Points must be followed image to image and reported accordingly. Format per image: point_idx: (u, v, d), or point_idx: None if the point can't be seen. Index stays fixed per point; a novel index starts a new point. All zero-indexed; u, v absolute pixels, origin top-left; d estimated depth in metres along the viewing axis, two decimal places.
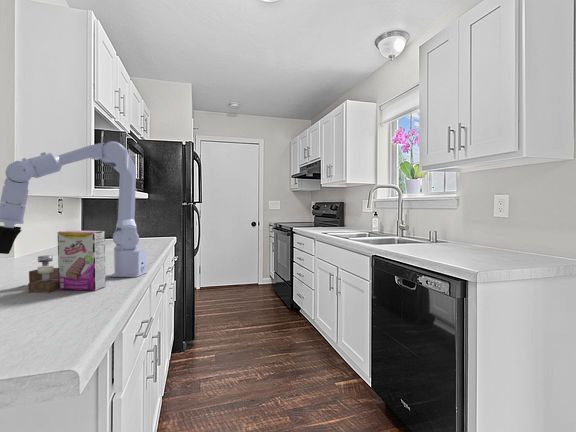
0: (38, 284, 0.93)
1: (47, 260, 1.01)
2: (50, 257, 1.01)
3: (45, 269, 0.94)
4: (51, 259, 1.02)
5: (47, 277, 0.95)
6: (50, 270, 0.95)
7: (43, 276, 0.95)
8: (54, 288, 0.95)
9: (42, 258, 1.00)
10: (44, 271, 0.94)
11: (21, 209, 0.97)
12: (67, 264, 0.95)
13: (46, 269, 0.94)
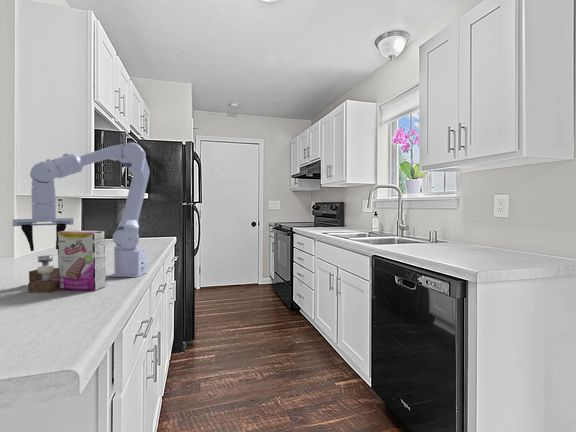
0: (38, 284, 0.93)
1: (47, 260, 1.01)
2: (50, 257, 1.01)
3: (45, 269, 0.94)
4: (51, 259, 1.02)
5: (47, 277, 0.95)
6: (50, 270, 0.95)
7: (43, 276, 0.95)
8: (54, 288, 0.95)
9: (42, 258, 1.00)
10: (44, 271, 0.94)
11: None
12: (67, 264, 0.95)
13: (46, 269, 0.94)
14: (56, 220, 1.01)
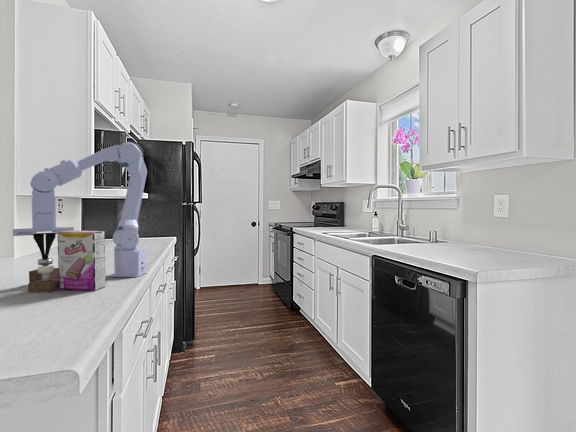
0: (38, 284, 0.93)
1: (47, 263, 1.01)
2: (50, 260, 1.01)
3: (45, 269, 0.94)
4: (51, 262, 1.02)
5: (47, 277, 0.95)
6: (50, 270, 0.95)
7: (43, 276, 0.95)
8: (54, 288, 0.95)
9: (42, 261, 1.00)
10: (44, 271, 0.94)
11: None
12: (67, 264, 0.95)
13: (46, 269, 0.94)
14: (56, 229, 1.01)
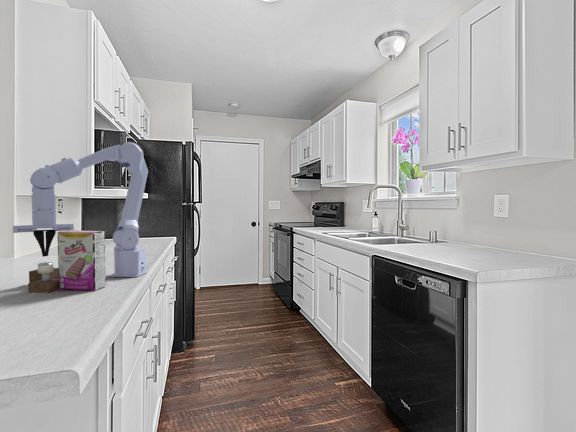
0: (38, 284, 0.93)
1: None
2: (50, 264, 1.02)
3: (45, 269, 0.94)
4: None
5: (47, 277, 0.95)
6: (50, 270, 0.95)
7: (43, 276, 0.95)
8: (54, 288, 0.95)
9: (42, 265, 1.00)
10: (44, 271, 0.94)
11: None
12: (67, 264, 0.95)
13: (46, 269, 0.94)
14: (56, 226, 1.01)
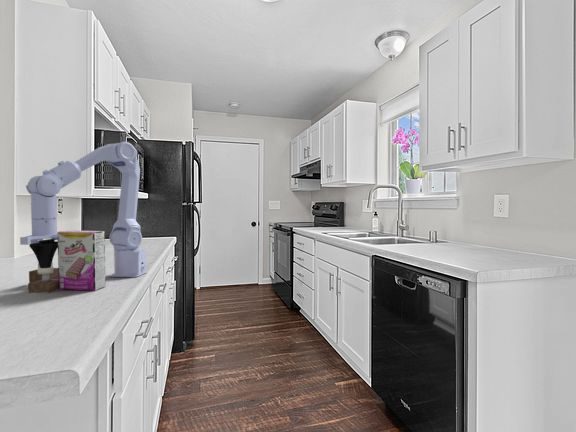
0: (38, 284, 0.93)
1: None
2: None
3: (45, 270, 0.94)
4: (51, 266, 1.02)
5: (47, 278, 0.95)
6: (50, 271, 0.95)
7: (43, 277, 0.95)
8: (54, 288, 0.95)
9: None
10: (44, 272, 0.94)
11: None
12: (67, 264, 0.95)
13: (46, 270, 0.94)
14: None
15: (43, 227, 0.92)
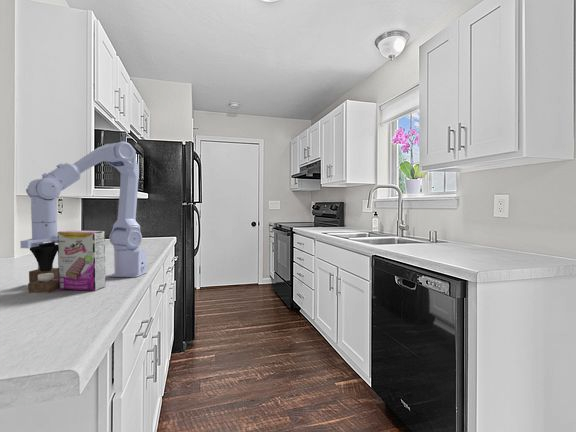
0: (38, 284, 0.93)
1: None
2: None
3: (45, 277, 0.94)
4: None
5: None
6: (50, 277, 0.95)
7: None
8: (54, 288, 0.95)
9: None
10: (44, 279, 0.94)
11: None
12: (67, 264, 0.95)
13: (46, 277, 0.94)
14: None
15: (43, 230, 0.93)
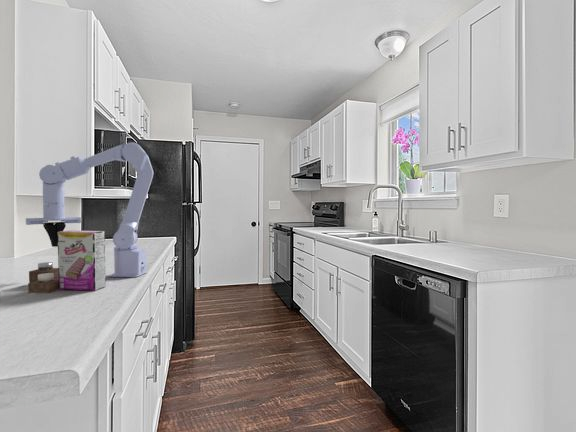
0: (38, 284, 0.93)
1: (47, 267, 1.01)
2: (50, 264, 1.02)
3: (45, 277, 0.94)
4: (51, 266, 1.02)
5: None
6: (50, 277, 0.95)
7: None
8: (54, 288, 0.95)
9: (42, 265, 1.00)
10: (44, 279, 0.94)
11: None
12: (67, 264, 0.95)
13: (46, 277, 0.94)
14: (66, 219, 1.10)
15: (46, 211, 1.07)
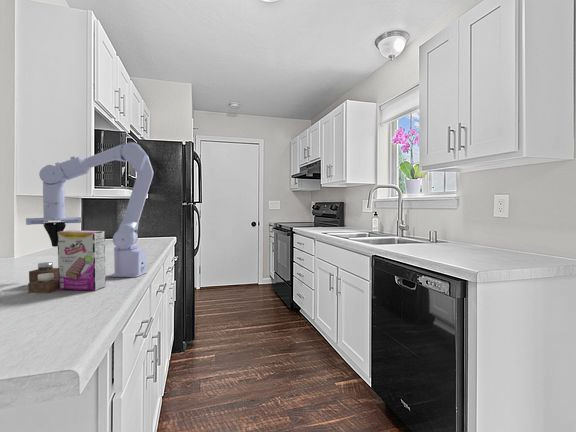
0: (38, 284, 0.93)
1: (47, 267, 1.01)
2: (50, 264, 1.02)
3: (45, 277, 0.94)
4: (51, 266, 1.02)
5: None
6: (50, 277, 0.95)
7: None
8: (54, 288, 0.95)
9: (42, 265, 1.00)
10: (44, 279, 0.94)
11: None
12: (67, 264, 0.95)
13: (46, 277, 0.94)
14: (66, 219, 1.10)
15: (46, 211, 1.07)
